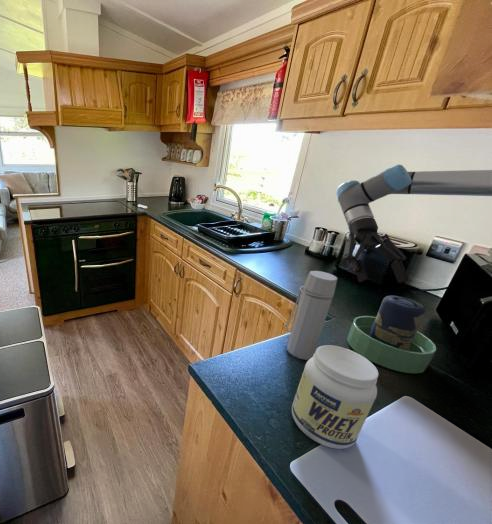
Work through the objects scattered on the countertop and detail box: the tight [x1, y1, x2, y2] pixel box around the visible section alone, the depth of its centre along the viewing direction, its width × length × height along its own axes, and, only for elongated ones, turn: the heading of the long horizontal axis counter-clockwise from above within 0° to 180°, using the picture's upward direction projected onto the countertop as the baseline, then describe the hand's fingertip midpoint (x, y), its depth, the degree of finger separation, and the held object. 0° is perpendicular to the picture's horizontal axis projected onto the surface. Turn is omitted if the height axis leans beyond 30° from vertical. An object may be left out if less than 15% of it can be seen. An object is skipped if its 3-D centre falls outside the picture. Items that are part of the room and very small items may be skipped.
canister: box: [369, 295, 426, 351], centre depth 85 cm, size 10×10×18 cm
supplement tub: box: [291, 344, 379, 450], centre depth 59 cm, size 12×12×17 cm
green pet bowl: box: [346, 315, 437, 375], centre depth 87 cm, size 19×19×7 cm
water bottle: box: [285, 270, 338, 361], centre depth 81 cm, size 9×8×25 cm
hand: (383, 281), depth 89 cm, fingers open, 13 cm apart
